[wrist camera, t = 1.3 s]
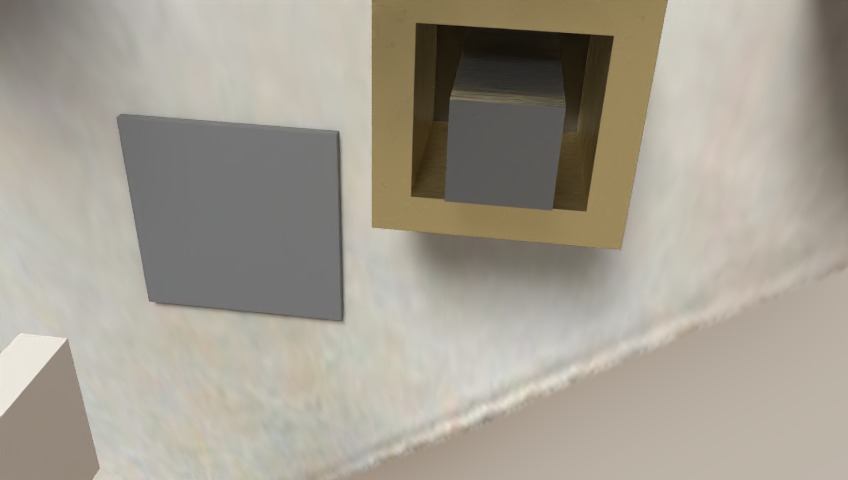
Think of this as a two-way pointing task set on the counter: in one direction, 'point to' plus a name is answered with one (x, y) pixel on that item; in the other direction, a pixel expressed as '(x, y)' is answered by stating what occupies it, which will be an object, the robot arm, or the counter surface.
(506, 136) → the post
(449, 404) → the counter surface
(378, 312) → the counter surface
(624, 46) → the collar
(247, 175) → the mat
